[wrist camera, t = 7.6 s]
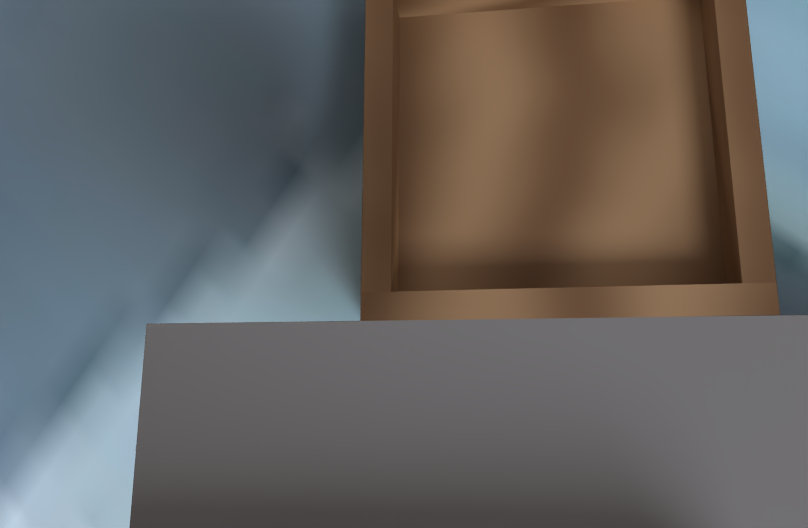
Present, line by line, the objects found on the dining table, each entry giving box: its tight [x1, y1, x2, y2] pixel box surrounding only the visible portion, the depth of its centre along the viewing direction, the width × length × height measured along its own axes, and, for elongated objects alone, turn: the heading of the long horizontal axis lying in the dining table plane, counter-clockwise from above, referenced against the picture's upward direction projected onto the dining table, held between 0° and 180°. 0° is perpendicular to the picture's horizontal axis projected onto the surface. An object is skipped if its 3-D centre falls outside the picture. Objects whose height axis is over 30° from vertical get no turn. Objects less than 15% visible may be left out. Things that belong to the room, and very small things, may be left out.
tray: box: [361, 0, 780, 321], centre depth 27 cm, size 13×13×2 cm
